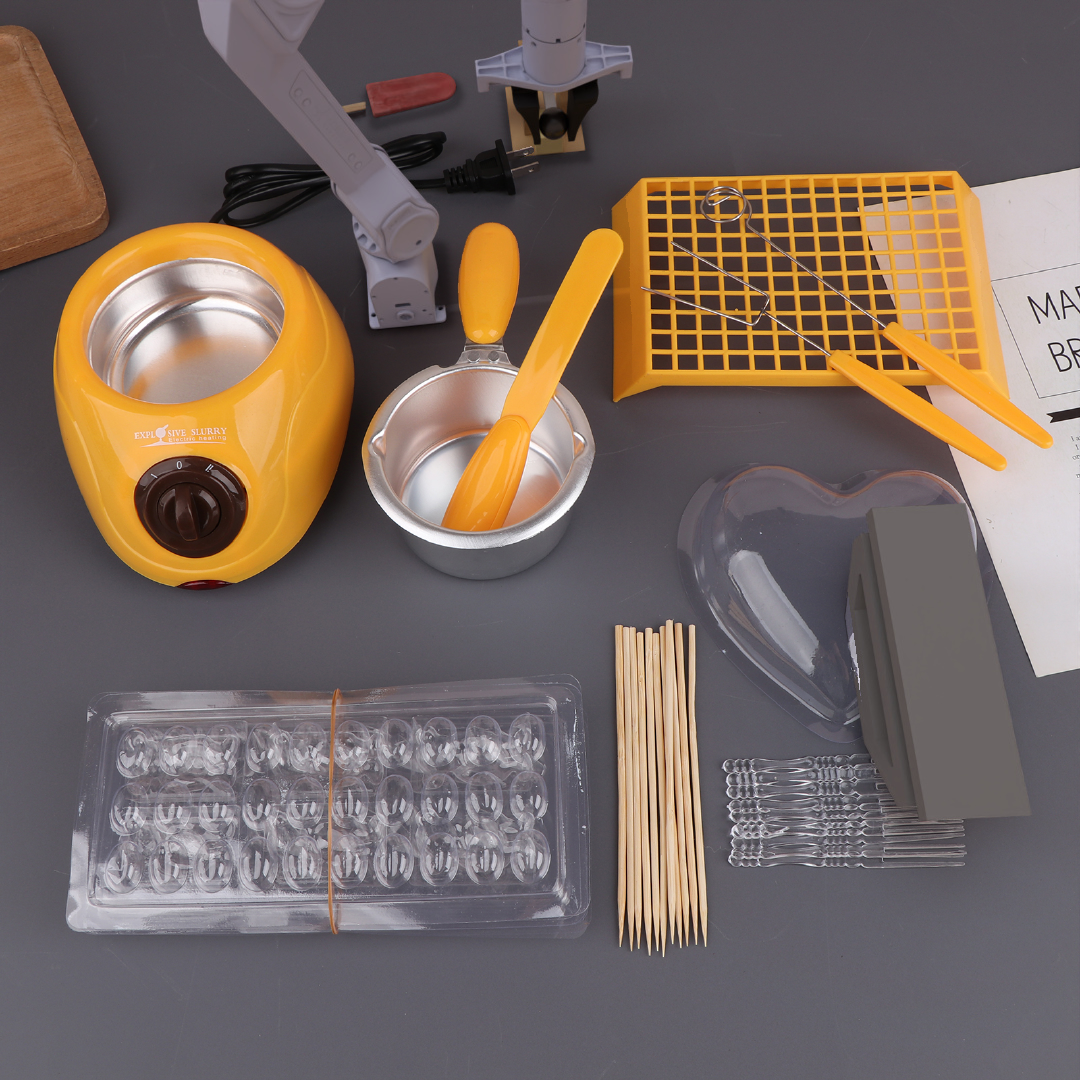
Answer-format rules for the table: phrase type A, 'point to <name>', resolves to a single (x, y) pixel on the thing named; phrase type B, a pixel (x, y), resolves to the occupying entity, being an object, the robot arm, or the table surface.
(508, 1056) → the table surface
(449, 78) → the popsicle
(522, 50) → the robot arm
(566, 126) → the knife lever
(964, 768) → the grey stepped block
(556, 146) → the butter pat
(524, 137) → the wooden lever stand
